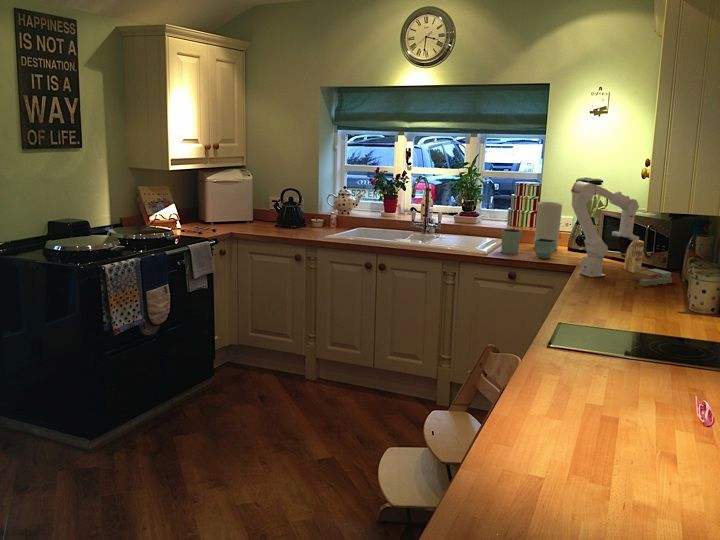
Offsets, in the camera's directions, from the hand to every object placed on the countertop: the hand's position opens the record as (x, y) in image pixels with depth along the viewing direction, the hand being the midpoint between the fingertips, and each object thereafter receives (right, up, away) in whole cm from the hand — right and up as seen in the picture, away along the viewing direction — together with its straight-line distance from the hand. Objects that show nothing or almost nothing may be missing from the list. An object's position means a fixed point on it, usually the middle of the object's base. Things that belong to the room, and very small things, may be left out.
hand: (622, 253), depth 323 cm
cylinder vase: (-21, +4, +57) cm, 60 cm away
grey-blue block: (+13, -13, -7) cm, 19 cm away
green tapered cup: (-44, +1, +42) cm, 60 cm away
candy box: (+8, -8, +10) cm, 15 cm away
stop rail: (+9, -14, -15) cm, 22 cm away
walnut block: (+6, -13, -11) cm, 18 cm away
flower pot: (-28, -1, +33) cm, 44 cm away
